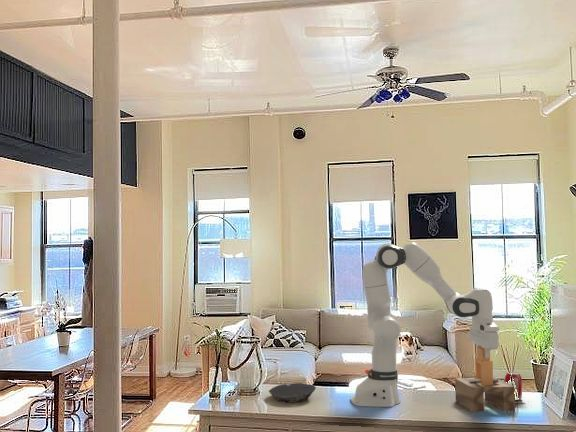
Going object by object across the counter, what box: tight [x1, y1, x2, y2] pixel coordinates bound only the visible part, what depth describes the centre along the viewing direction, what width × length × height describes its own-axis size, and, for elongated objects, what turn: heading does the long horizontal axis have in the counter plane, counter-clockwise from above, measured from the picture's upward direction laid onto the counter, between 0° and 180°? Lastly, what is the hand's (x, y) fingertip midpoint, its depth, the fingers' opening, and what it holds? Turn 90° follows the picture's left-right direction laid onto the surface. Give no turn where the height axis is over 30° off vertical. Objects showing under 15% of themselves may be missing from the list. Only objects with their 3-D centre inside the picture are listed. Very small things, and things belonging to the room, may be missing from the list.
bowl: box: [268, 382, 317, 404], centre depth 251 cm, size 22×22×5 cm
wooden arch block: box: [454, 376, 516, 413], centre depth 240 cm, size 19×17×12 cm
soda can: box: [504, 371, 523, 401], centre depth 249 cm, size 7×7×12 cm
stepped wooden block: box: [474, 347, 494, 386], centre depth 241 cm, size 5×6×16 cm
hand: (483, 356), depth 241 cm, fingers closed on stepped wooden block, 4 cm apart
